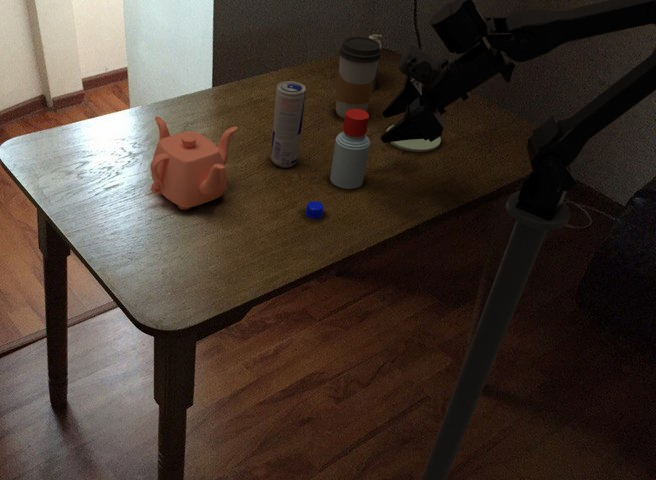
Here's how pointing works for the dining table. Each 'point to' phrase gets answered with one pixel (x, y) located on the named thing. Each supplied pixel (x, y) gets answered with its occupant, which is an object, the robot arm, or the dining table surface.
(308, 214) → the bottle cap
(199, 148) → the teapot
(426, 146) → the coaster
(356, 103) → the coffee cup
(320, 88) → the dining table surface
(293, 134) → the beverage can
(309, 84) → the dining table surface
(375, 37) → the flask
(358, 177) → the bottle
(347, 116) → the cap
